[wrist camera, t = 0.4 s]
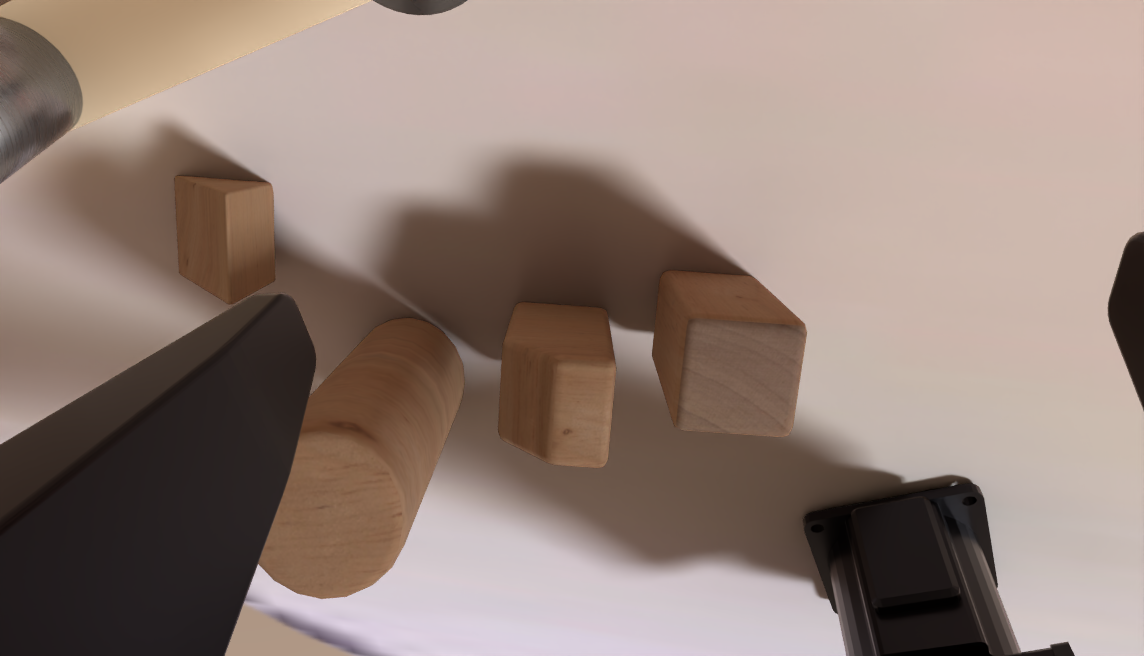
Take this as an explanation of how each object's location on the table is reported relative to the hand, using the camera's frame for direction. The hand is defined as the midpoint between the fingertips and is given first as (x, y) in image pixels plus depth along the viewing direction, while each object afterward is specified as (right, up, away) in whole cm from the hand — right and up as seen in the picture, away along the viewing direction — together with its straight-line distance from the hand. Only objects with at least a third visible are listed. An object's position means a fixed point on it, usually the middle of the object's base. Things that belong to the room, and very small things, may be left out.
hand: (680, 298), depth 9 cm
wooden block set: (-4, +1, +18) cm, 18 cm away
